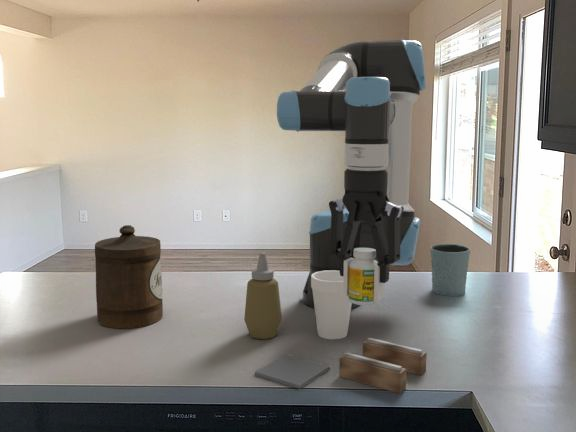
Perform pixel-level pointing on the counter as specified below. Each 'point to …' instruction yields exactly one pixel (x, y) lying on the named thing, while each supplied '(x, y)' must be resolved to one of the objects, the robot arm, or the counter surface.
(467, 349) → the counter surface
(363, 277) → the supplement bottle
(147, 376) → the counter surface
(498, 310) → the counter surface
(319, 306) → the foam cup
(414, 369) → the wooden blocks
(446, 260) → the green cup
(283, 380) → the mat
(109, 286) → the wooden container
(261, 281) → the squeeze bottle
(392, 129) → the robot arm
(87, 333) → the counter surface
